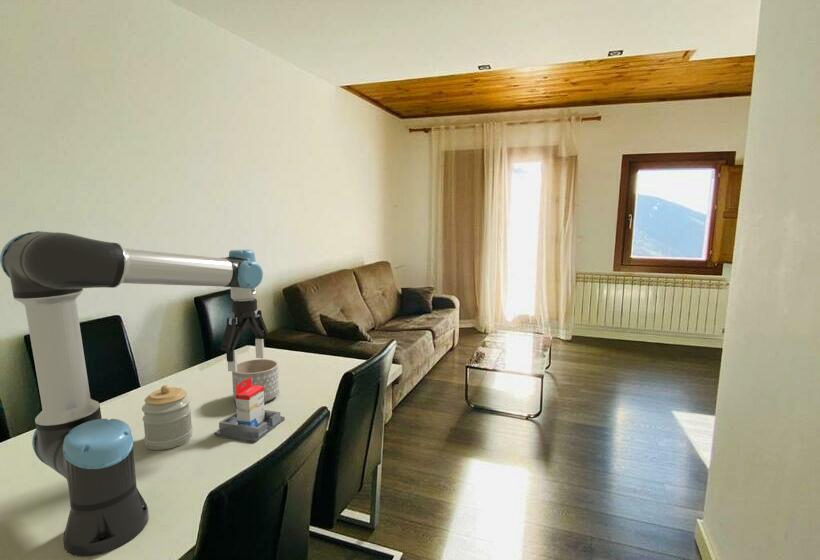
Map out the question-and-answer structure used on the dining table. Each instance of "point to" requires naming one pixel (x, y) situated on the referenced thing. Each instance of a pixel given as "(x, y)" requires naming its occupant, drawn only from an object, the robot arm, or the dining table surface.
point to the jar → (167, 418)
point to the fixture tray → (248, 427)
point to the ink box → (249, 403)
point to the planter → (258, 376)
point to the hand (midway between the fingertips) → (247, 364)
